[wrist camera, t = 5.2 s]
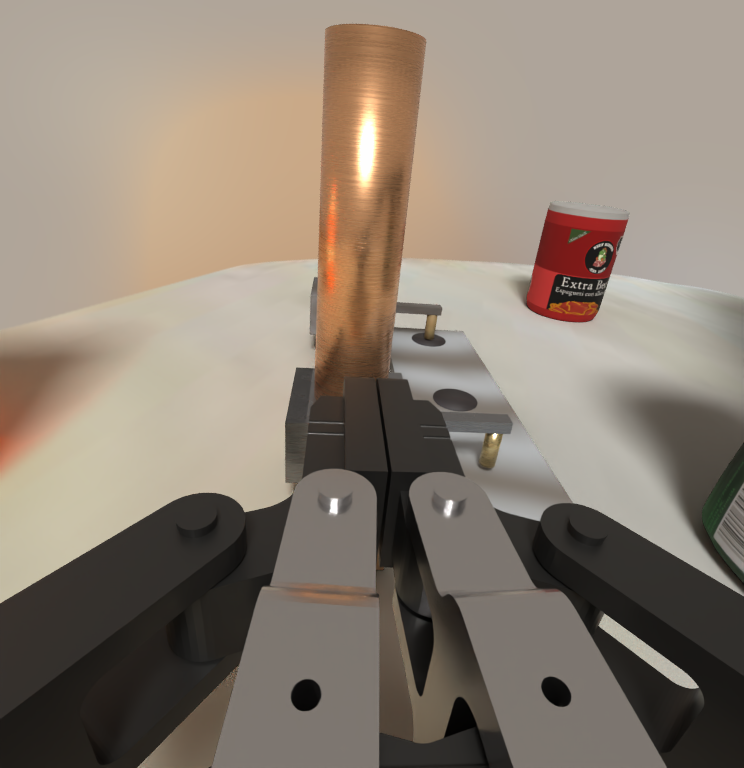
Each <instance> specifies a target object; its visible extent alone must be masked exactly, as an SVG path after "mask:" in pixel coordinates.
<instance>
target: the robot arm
mask: <svg viewBox="0 0 744 768" xmlns="http://www.w3.org/2000/svg"><path fill="white" fill-rule="evenodd" d="M377 556H379V567H391V568H394V577H395V586H394V592H393V599H392V605H393V611H394V617H395V622H396V627H397V632H398V637H399V643H400V648H401V653H402V658H403V663H404V669H405V674H406V679H407V684H408V689H409V694H410V700H411V705H412V713H413V742H412V741H408V740H404V739H401V738H397V737H394V736H390V735H386V734H383V733H379V595H378V594H377V593H376V564H377ZM604 613H605V614H606V615H608V616H609V617H610V618H612V619H613V620H615V621H616V622H617V623H619V624H620V625H621V626H623V627H624V628H626V629H627V630H628V631H630V632H631V633H632V634H634V635H635V636H637V637H638V638H639V639H641V640H642V641H643V642H645V643H646V644H648V645H649V646H650V647H652V648H653V649H654V650H656V651H657V652H659V653H660V654H661V655H663V656H664V657H665V658H667V659H668V660H670V661H671V662H672V663H674V664H675V665H676V666H678V667H679V668H680V669H682V670H683V671H684V672H686V673H687V674H688V675H689V676H690V677H691V678H692V679H693V680H694V681H695V682H696V684H697V685H698V686H699V688H696V689H689V688H685V687H682V686H679V685H677V684H675V683H674V682H672V681H671V680H669V679H668V678H667V677H665V676H664V675H663V674H661V673H660V672H659V671H657V670H656V669H655V668H653V667H652V666H651V665H649V664H648V663H647V662H645V661H644V660H643V659H641V658H640V657H639V656H637V655H636V654H635V653H633V652H632V651H631V650H629V649H628V648H627V647H625V646H624V645H623V644H621V643H620V642H619V641H617V640H616V639H615V638H613V637H612V636H611V635H609V634H608V633H607V632H605V631H604V630H603V629H601V628H600V627H599V626H598V625H599V623H600V621H601V619H602V617H603V615H604ZM239 663H240V665H239ZM238 665H239V668H238V672H237V676H236V679H235V683H234V687H233V690H232V694H231V698H230V701H229V705H228V709H227V712H226V716H225V720H224V723H223V727H222V731H221V735H220V738H219V742H218V746H217V749H216V753H215V757H214V760H213V764H212V766H210V767H209V768H744V596H742V595H740V594H739V593H737V592H735V591H733V590H732V589H730V588H728V587H727V586H725V585H723V584H722V583H720V582H718V581H716V580H715V579H713V578H711V577H710V576H708V575H706V574H705V573H703V572H701V571H699V570H698V569H696V568H694V567H693V566H691V565H689V564H688V563H686V562H684V561H682V560H681V559H679V558H677V557H676V556H674V555H672V554H671V553H669V552H667V551H665V550H664V549H662V548H660V547H659V546H657V545H655V544H654V543H652V542H650V541H648V540H647V539H645V538H643V537H642V536H640V535H638V534H637V533H635V532H633V531H631V530H630V529H628V528H626V527H625V526H623V525H621V524H620V523H618V522H616V521H614V520H613V519H611V518H609V517H608V516H606V515H604V514H602V513H600V512H599V511H597V510H594V509H592V508H589V507H586V506H583V505H579V504H573V503H559V504H554V505H552V506H550V507H548V508H546V509H545V511H544V512H543V514H542V516H541V519H540V521H537V520H533V519H529V518H525V517H521V516H517V515H514V514H510V513H507V512H503V511H501V510H498V509H496V508H494V507H493V505H492V503H491V502H490V500H489V498H488V496H487V494H486V493H485V491H484V490H483V489H482V488H481V487H480V486H479V485H477V484H476V483H475V482H473V481H471V480H470V479H468V478H466V477H465V475H464V472H463V469H462V467H461V464H460V461H459V459H458V456H457V453H456V450H455V448H454V445H453V442H452V440H450V434H449V431H448V429H447V428H446V423H445V420H444V418H443V415H442V412H441V411H440V410H439V409H437V408H436V407H435V406H434V405H433V404H432V403H431V402H430V401H429V400H413V397H412V393H411V390H410V386H409V382H408V380H407V379H393V378H377V379H376V382H375V378H370V377H349V376H344V384H343V397H339V396H320V397H319V398H318V399H317V400H316V402H315V403H314V404H313V405H312V406H311V407H310V416H309V424H308V434H307V441H306V450H305V459H304V467H303V476H302V480H301V481H300V482H299V483H298V484H297V486H296V487H295V490H294V493H293V494H292V495H291V496H290V497H289V498H287V499H286V500H284V501H282V502H281V503H279V504H276V505H274V506H271V507H267V508H263V509H259V510H254V511H250V512H245V513H244V510H243V508H242V507H241V505H240V504H239V503H238V502H236V501H235V500H234V499H232V498H230V497H228V496H225V495H222V494H216V493H198V494H192V495H188V496H185V497H182V498H179V499H177V500H175V501H173V502H171V503H169V504H167V505H166V506H164V507H162V508H160V509H159V510H157V511H155V512H154V513H152V514H150V515H149V516H147V517H145V518H144V519H142V520H140V521H139V522H137V523H135V524H133V525H132V526H130V527H128V528H127V529H125V530H123V531H122V532H120V533H118V534H117V535H115V536H113V537H112V538H110V539H108V540H106V541H105V542H103V543H101V544H100V545H98V546H96V547H95V548H93V549H91V550H90V551H88V552H86V553H85V554H83V555H81V556H79V557H78V558H76V559H74V560H73V561H71V562H69V563H68V564H66V565H64V566H63V567H61V568H59V569H58V570H56V571H54V572H52V573H51V574H49V575H47V576H46V577H44V578H42V579H41V580H39V581H37V582H36V583H34V584H32V585H31V586H29V587H27V588H26V589H24V590H22V591H20V592H19V593H17V594H15V595H14V596H12V597H10V598H9V599H7V600H5V601H4V602H2V603H0V768H137V767H138V766H139V765H140V764H141V763H142V762H143V761H144V760H145V759H146V758H147V757H148V756H149V755H150V754H151V753H152V752H153V751H154V750H155V749H156V748H157V747H158V746H159V745H160V744H161V743H162V742H163V741H164V740H165V739H166V738H167V737H168V736H169V735H170V734H171V733H172V732H173V731H174V729H175V728H176V727H177V726H178V725H179V724H180V723H181V722H182V721H183V720H184V719H185V718H186V717H187V716H188V715H189V714H190V713H191V712H192V711H193V710H194V709H195V708H196V707H197V706H198V705H199V704H200V703H201V702H202V701H203V700H204V699H205V698H206V697H207V696H208V695H209V694H210V693H211V692H212V691H213V690H214V689H215V688H216V687H217V686H218V685H219V684H220V683H221V682H222V681H223V680H224V679H225V678H226V677H227V676H228V675H229V674H230V673H231V672H232V671H233V670H234V669H235V668H236V667H237V666H238Z"/></svg>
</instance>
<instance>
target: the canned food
mask: <svg viewBox="0 0 744 768" xmlns="http://www.w3.org/2000/svg"><path fill="white" fill-rule="evenodd" d="M628 219H629V212H628V211H626V210H622V209H618V208H612V207H606V206H600V205H592V204H583V203H574V202H551V203H550V206H549V208H548V212H547V216H546V219H545V223H544V227H543V232H542V236H541V240H540V244H539V248H538V252H537V257H536V261H535V265H534V269H533V273H532V277H531V281H530V286H529V290H528V294H527V306H528V307H529V308H530V309H531V310H532V311H534V312H535V313H537V314H540V315H542V316H545V317H548V318H552V319H556V320H561V321H568V322H587V321H590V320H592V319H593V318H594V317H595V316H596V314H597V313H598V311H599V308H600V305H601V302H602V299H603V296H604V293H605V290H606V287H607V284H608V281H609V278H610V274H611V271H612V268H613V265H614V262H615V259H616V256H617V253H618V250H619V247H620V244H621V241H622V238H623V235H624V232H625V228H626V225H627V222H628Z"/></svg>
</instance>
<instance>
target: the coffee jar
mask: <svg viewBox="0 0 744 768" xmlns="http://www.w3.org/2000/svg"><path fill="white" fill-rule="evenodd" d="M702 520H703V524H704V526H705V529H706V531H707V533H708V535H709V537H710V539H711V541H712V543H713V545H714V546H715V548H716V550H717V551H718V553H719V554H720V555H721V557H722V558H723V560H724V561H725V562H726V563H727V565H728V566H729V567H730V568H731V569H732V571H733V572H734V573H735V574H736V575H737V576H738V577H739V578H740V580H741V581H742V582H743V583H744V443H743V444H742V446H741V447H740V449H739V450H738V452H737V453H736V455H735V456H734V458H733V459H732V460H731V462H730V463H729V465H728V466H727V468H726V470H725V471H724V473H723V474H722V476H721V477H720V479H719V481H718V482H717V484H716V486H715V487H714V489H713V491H712V492H711V494H710V496H709V498H708V499H707V501H706V503H705V505H704V507H703V510H702Z"/></svg>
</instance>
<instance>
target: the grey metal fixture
mask: <svg viewBox="0 0 744 768" xmlns="http://www.w3.org/2000/svg"><path fill="white" fill-rule="evenodd" d="M317 286H318V278H317V277H314V281H313V287H312V292H311V305H310V334H313V335H316V319H317ZM441 312H442V307H441V306H440V305H431V304H416V303H400V302H397V305H396V313H409V314H425V315H427V321H426V327H425V329H414V328H397V327H394V331H393V340H392V349H391V358H390V370H391V372H393V373H402V377H403V379H407V380H408V382H409V386H410V390H411V393H412V397H413V400H429V401H430V402H431V403H432V404H433V405H434V406H435V407H436V408H437V409H439V410H440V411H441V412H463V413H487V414H508V416H509V417H510V419H511V421H512V422H513V426H512V430H511V434H503V437H502V441H501V445H500V449H499V452H498V456H497V460H496V464H495V466H494V467H493V468H486V467H483V466H482V465H481V464H480V463H479V459H480V454H481V450H482V446H483V442H484V438H485V433H465V432H449V434H450V440H452V442H453V445H454V448H455V450H456V453H457V456H458V459H459V461H460V464H461V467H462V469H463V472H464V475H465V477H466V478H468V479H470V480H471V481H473V482H475V483H476V484H477V485H479V486H480V487H481V488H482V489H483V490H484V491H485V493H486V494H487V496H488V498H489V500H490V502H491V503H492V505H493V507H494V508H496V509H498V510H501V511H503V512H507V513H510V514H514V515H517V516H521V517H525V518H529V519H533V520H537V521H540V519H541V516H542V514H543V512H544V511H545V509H546V508H548V507H550V506H552V505H554V504H559V503H573V502H572V501H571V499H570V498H569V496H568V495H567V493H566V491H565V490H564V488H563V487H562V485H561V484H560V482H559V481H558V479H557V477H556V476H555V474H554V473H553V471H552V470H551V468H550V466H549V465H548V463H547V462H546V460H545V459H544V457H543V456H542V454H541V452H540V451H539V449H538V448H537V446H536V445H535V443H534V442H533V440H532V438H531V437H530V435H529V434H528V432H527V431H526V429H525V427H524V426H523V424H522V423H521V421H520V420H519V418H518V417H517V415H516V413H515V412H514V410H513V409H512V407H511V406H510V404H509V402H508V401H507V399H506V398H505V396H504V395H503V393H502V392H501V390H500V388H499V387H498V385H497V384H496V382H495V381H494V379H493V378H492V376H491V374H490V373H489V371H488V370H487V368H486V367H485V365H484V363H483V362H482V360H481V359H480V357H479V356H478V354H477V353H476V351H475V349H474V348H473V346H472V345H471V343H470V342H469V340H468V338H467V337H466V335H465V334H464V332H463V331H448V330H435V327H436V321H437V315H441ZM376 570H384V567H379V556H377V564H376Z"/></svg>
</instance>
